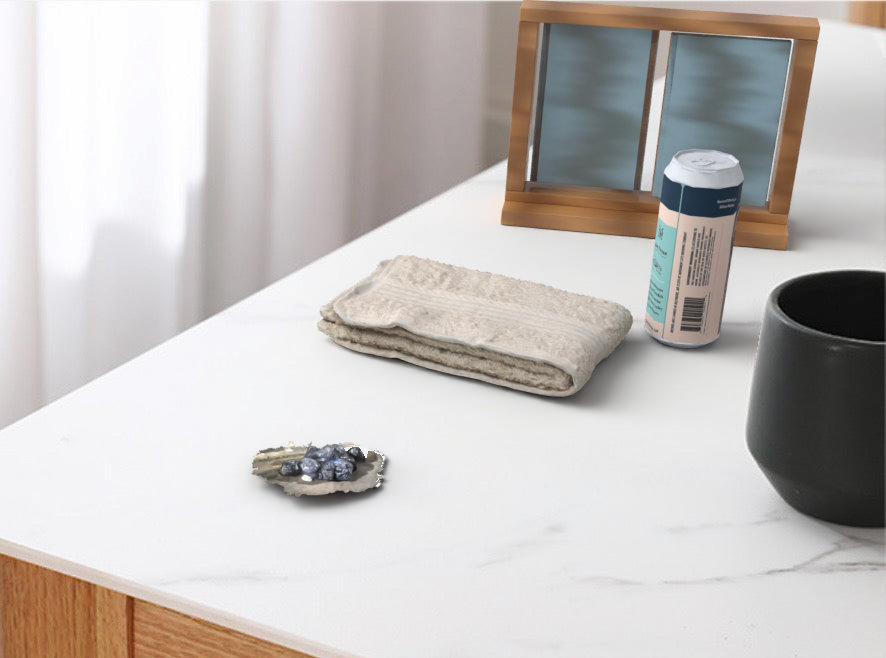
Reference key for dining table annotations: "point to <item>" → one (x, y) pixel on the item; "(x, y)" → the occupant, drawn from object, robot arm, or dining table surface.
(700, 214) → the beer can
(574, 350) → the washcloth
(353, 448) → the blueberries
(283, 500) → the dining table surface
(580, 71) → the window sash
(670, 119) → the window frame
